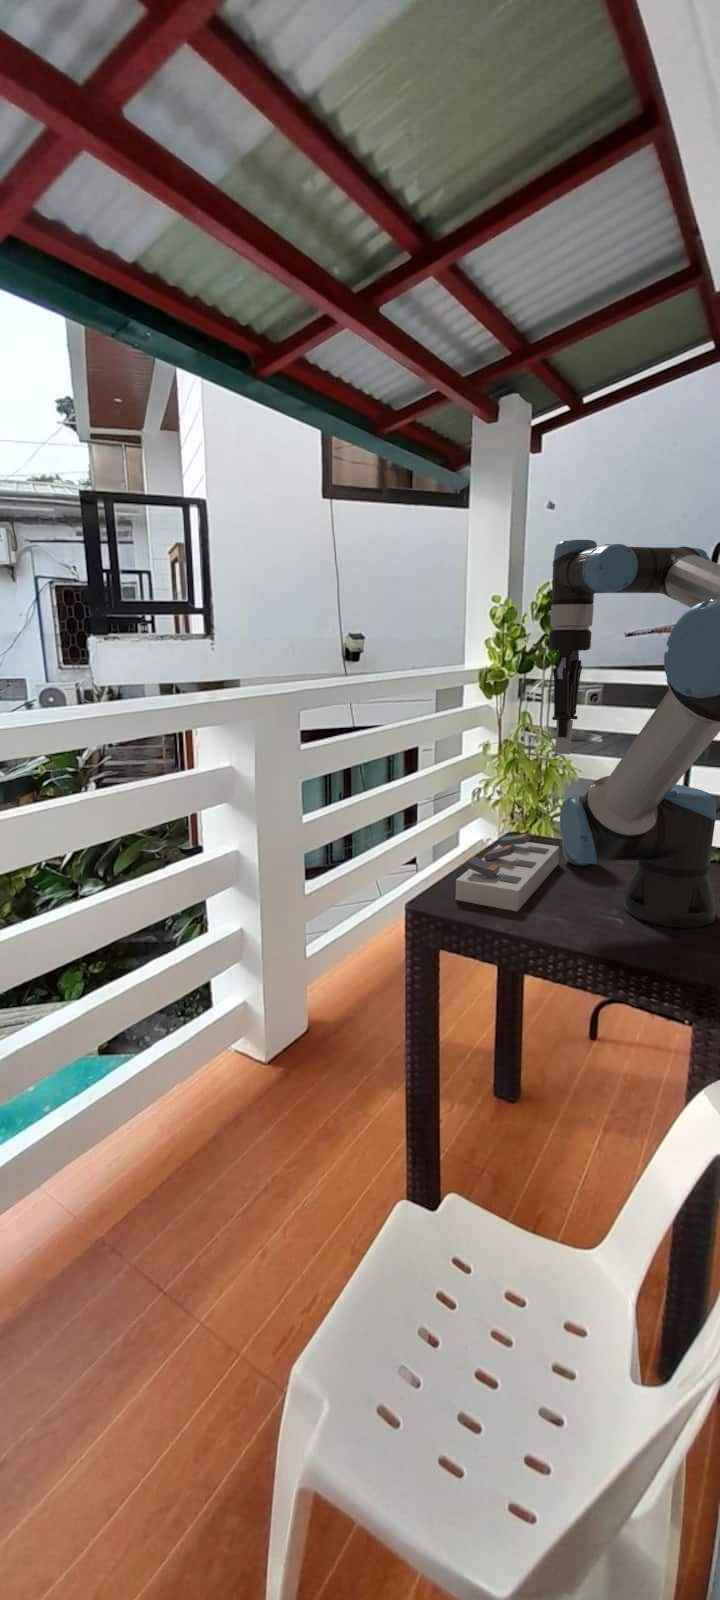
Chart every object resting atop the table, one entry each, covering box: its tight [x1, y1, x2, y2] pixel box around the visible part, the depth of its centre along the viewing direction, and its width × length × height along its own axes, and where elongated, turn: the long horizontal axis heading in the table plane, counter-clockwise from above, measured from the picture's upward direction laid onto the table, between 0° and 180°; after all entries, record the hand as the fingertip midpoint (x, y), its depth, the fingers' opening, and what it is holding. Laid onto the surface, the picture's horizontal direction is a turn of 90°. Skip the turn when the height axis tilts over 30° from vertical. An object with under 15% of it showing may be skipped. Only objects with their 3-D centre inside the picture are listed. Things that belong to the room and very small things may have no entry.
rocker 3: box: [498, 833, 531, 846], centre depth 151 cm, size 6×4×1 cm, turn 60°
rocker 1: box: [465, 855, 500, 878], centre depth 134 cm, size 6×4×1 cm, turn 61°
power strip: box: [455, 841, 560, 912], centre depth 146 cm, size 12×39×4 cm, turn 151°
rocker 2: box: [483, 844, 516, 861], centre depth 143 cm, size 6×4×1 cm, turn 60°
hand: (562, 753), depth 136 cm, fingers closed
